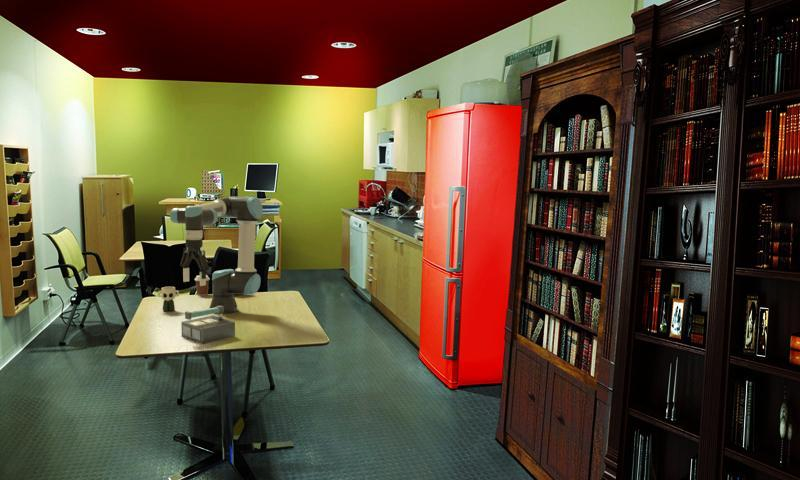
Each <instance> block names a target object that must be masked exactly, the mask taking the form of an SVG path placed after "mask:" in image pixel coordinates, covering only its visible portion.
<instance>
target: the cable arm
mask: <svg viewBox="0 0 800 480" xmlns="http://www.w3.org/2000/svg"><path fill="white" fill-rule="evenodd" d="M223 312H224V306H217V307H215V308H210V309H209V308H204V309H200V310H194V311H188V310H187V311H184V315H185V316H184V319H185V320H187V321H188V320H192V318H193V319H195V318H197V317H203V316H204V317H205V316H207V315H209V316H210V315H213V314H218V313H223Z"/></svg>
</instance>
